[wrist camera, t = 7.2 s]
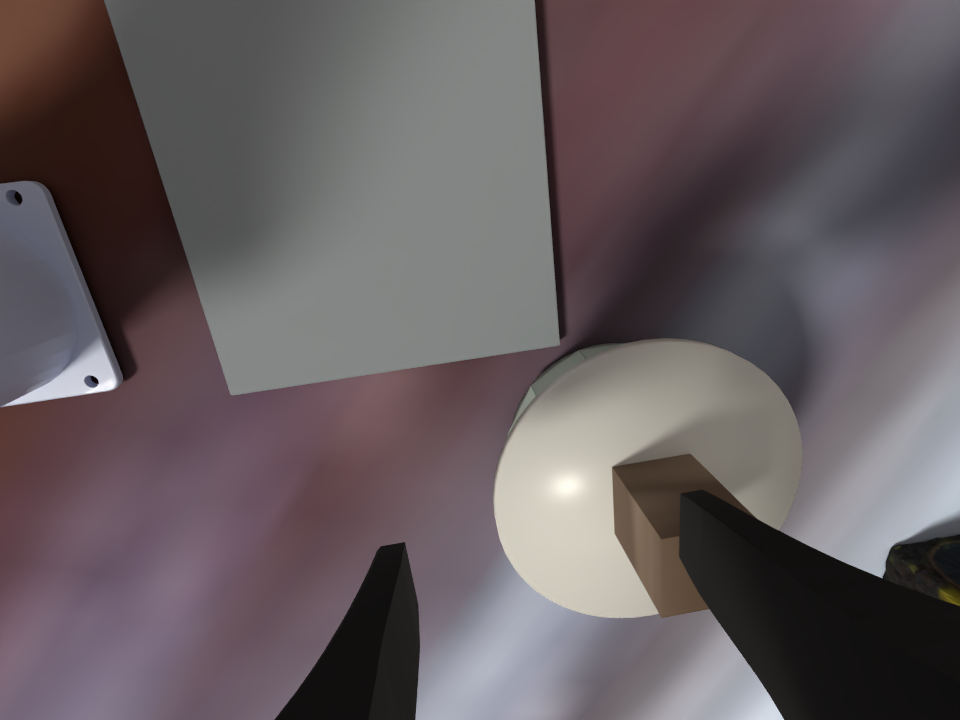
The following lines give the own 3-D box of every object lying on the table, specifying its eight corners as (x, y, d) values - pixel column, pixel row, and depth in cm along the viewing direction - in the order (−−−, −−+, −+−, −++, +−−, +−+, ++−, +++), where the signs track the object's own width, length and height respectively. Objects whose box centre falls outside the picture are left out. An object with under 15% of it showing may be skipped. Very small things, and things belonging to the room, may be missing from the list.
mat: (235, 390, 21) (230, 395, 20) (112, 3, 16) (103, -2, 16) (556, 342, 22) (559, 345, 21) (528, -41, 17) (530, -47, 16)
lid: (509, 629, 21) (532, 744, 16) (473, 365, 17) (490, 426, 12) (778, 578, 21) (868, 676, 17) (805, 314, 17) (930, 354, 13)
